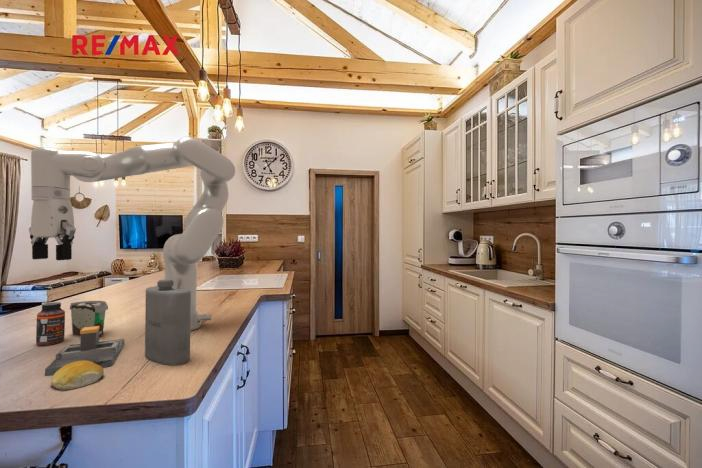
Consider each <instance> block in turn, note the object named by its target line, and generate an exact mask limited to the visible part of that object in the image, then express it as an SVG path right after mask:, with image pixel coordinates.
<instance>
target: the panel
mask: <svg viewBox="0 0 702 468" xmlns="http://www.w3.org/2000/svg"><path fill="white" fill-rule="evenodd" d="M124 345H125V338H119V339H111V340H110V339H109V340H101V341H100V340H99V348H96V349H88V350H81V343H77V344H70V345H68V346H63V348H62V349H61V350H60V351H58V352H57V353H56V354H55V359H54V360H53V361H52V362H51V363H50V364H49V365H48V366H47V367H45V368H44V376H46V377H47V376H51V375H52V376H53V375H54V374H55V373H56V372H57V371H58V370H59V369H60V368H62V367H63V366H65V365H67V364H69V363H72V362H76V361H83V360H87V361H91V362H93V363H95V364H97V365H100V366H101V367H102V368H107V367H112V366H113V365H114V363H115V361H116V360H117V358H118V356H119V354H120V353H121V351H122V349H123V347H124Z"/></svg>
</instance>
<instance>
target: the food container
mask: <svg viewBox="0 0 702 468" xmlns="http://www.w3.org/2000/svg"><path fill="white" fill-rule="evenodd" d="M69 310H70V314H71V315H70V316H71V332H72V334H71V335H73V337H77V336H78V337H77V338H81V334H80V331H81V330H82V329H83V328H84V327H93V326H100V329H99V338H101V337H102V336H103V335H104V328H105V317H106V311H107V310H109V305H108V303H107V302H106V301H104V300H84V301H76V302H71V303H70V305H69Z"/></svg>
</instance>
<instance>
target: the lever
mask: <svg viewBox="0 0 702 468" xmlns="http://www.w3.org/2000/svg"><path fill="white" fill-rule="evenodd" d="M99 329H100V326H93V327H84V328H83V329H82V330H81V331H80V334H81V337H80V344H81V350H88V349H96V348H99V342H100V337H99Z"/></svg>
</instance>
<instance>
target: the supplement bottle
mask: <svg viewBox="0 0 702 468" xmlns="http://www.w3.org/2000/svg"><path fill="white" fill-rule="evenodd" d="M61 307H62V303H61V302H60V301H59V302H57V301H54V302H53V301H52V302H46V303H43V304H41V311H39V312H38V313H37V314H36V330H35V331H36V332H35V333H36V334H35V339H36V340H35V342H36V345H37V346H52V345H54V344H55V345H56V344H59V343H61V342H64V340H65V329H66V328H65V327H66V322H65V321H66V311H65V310H64V309H62V308H61Z"/></svg>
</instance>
